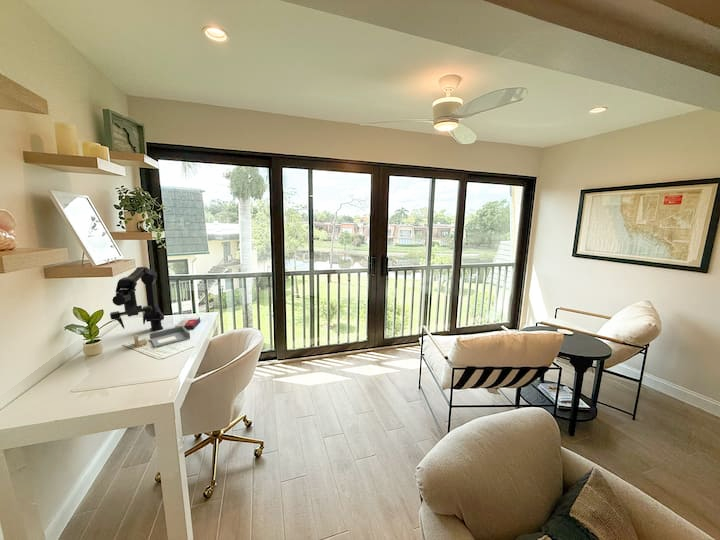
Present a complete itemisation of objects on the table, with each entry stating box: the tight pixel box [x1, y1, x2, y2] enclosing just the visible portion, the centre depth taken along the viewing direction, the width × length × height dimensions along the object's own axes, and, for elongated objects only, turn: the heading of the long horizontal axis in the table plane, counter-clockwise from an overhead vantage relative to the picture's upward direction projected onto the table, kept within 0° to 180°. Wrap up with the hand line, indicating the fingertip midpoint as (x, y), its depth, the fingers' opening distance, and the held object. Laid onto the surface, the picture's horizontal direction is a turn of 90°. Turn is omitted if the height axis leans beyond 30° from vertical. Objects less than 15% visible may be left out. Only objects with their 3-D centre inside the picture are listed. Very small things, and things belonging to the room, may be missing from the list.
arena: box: [149, 326, 191, 348], centre depth 176 cm, size 16×18×4 cm
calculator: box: [175, 317, 201, 331], centre depth 197 cm, size 11×4×15 cm
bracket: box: [133, 333, 148, 348], centre depth 170 cm, size 8×5×6 cm, turn 43°
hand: (134, 326), depth 167 cm, fingers open, 9 cm apart
